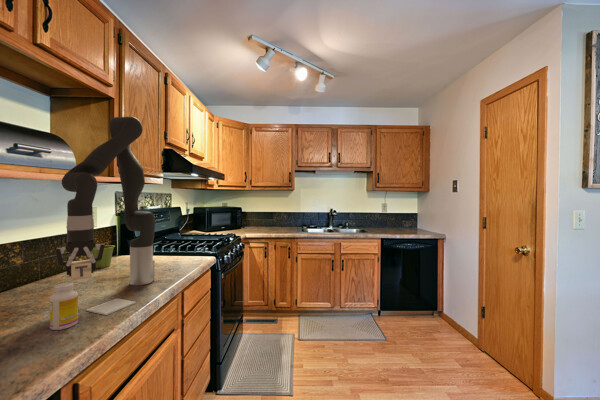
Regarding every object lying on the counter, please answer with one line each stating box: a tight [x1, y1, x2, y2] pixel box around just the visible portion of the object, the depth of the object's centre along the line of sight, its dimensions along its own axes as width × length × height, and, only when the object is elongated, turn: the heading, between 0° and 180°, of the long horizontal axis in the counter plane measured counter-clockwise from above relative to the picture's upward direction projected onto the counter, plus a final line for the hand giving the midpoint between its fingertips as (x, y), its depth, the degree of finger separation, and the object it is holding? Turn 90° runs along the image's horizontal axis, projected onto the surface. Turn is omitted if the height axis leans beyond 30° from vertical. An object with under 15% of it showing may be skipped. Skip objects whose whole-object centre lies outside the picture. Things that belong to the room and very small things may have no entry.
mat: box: [85, 297, 137, 316], centre depth 97 cm, size 11×10×1 cm
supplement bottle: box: [48, 281, 79, 331], centre depth 83 cm, size 7×7×13 cm
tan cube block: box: [70, 259, 92, 282], centre depth 97 cm, size 6×6×6 cm
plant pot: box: [91, 244, 116, 269], centre depth 151 cm, size 12×12×11 cm
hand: (81, 274), depth 97 cm, fingers closed on tan cube block, 5 cm apart
